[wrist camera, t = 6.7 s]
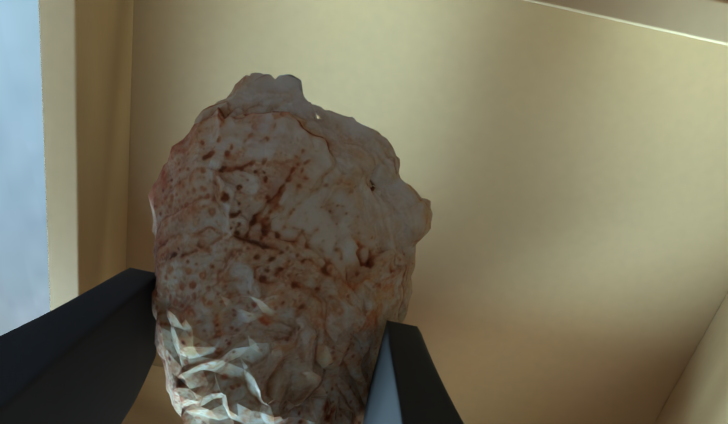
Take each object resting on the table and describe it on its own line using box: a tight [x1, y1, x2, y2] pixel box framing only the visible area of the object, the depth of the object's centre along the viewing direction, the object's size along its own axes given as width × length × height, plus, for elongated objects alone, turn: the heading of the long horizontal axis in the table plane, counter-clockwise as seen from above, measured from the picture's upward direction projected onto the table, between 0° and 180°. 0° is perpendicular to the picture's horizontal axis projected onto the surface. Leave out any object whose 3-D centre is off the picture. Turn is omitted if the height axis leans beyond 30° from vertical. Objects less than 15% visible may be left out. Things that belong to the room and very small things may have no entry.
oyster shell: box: [148, 73, 433, 424], centre depth 12 cm, size 10×4×5 cm
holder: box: [39, 0, 728, 424], centre depth 16 cm, size 20×16×4 cm
